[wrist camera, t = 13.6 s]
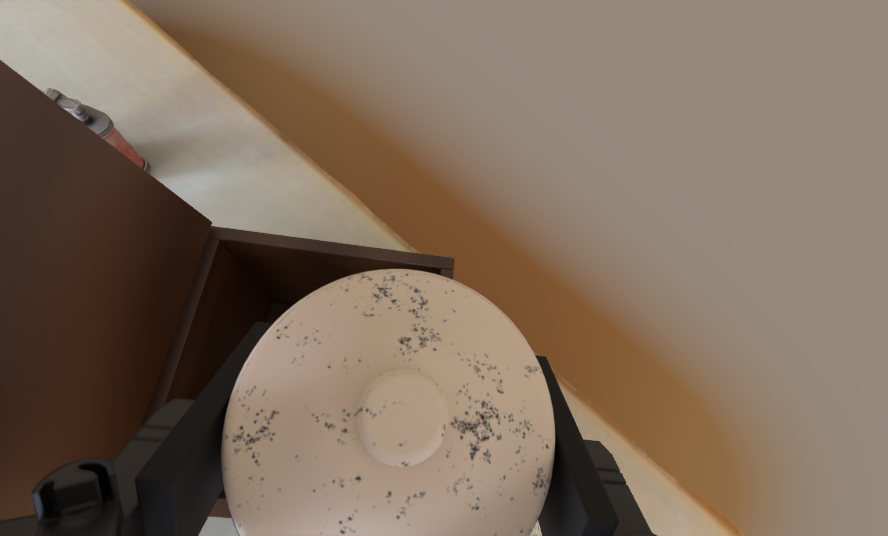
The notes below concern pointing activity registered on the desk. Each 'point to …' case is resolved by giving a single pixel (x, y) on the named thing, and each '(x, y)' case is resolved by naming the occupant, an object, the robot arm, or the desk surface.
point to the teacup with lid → (389, 416)
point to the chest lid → (79, 289)
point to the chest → (256, 300)
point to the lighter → (98, 125)
